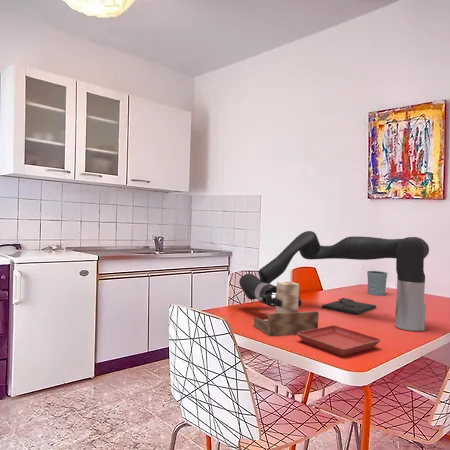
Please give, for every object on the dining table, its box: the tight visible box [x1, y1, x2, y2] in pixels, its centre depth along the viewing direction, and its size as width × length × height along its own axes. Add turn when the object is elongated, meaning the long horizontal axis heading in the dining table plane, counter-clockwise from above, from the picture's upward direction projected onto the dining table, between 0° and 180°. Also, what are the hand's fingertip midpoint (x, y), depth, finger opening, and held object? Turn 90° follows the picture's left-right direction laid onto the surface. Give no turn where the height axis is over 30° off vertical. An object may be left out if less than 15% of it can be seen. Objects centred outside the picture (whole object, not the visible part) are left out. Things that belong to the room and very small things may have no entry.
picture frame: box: [321, 297, 377, 316], centre depth 179 cm, size 16×3×21 cm
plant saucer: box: [296, 325, 381, 357], centre depth 124 cm, size 18×18×3 cm
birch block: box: [275, 281, 300, 313], centre depth 139 cm, size 6×6×16 cm
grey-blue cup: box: [367, 270, 388, 297], centre depth 219 cm, size 10×10×12 cm
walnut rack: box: [253, 310, 319, 337], centre depth 139 cm, size 18×12×7 cm, turn 110°
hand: (290, 303), depth 136 cm, fingers open, 7 cm apart
